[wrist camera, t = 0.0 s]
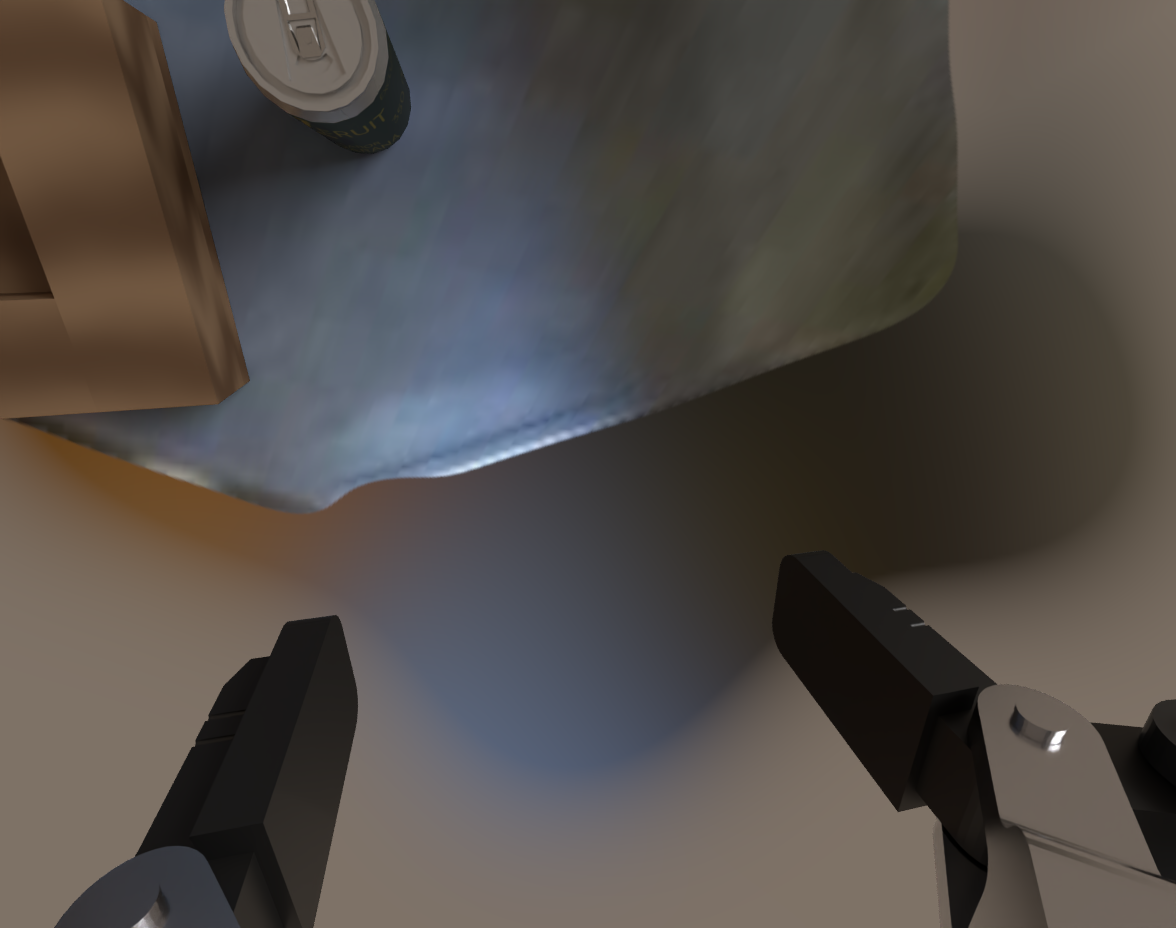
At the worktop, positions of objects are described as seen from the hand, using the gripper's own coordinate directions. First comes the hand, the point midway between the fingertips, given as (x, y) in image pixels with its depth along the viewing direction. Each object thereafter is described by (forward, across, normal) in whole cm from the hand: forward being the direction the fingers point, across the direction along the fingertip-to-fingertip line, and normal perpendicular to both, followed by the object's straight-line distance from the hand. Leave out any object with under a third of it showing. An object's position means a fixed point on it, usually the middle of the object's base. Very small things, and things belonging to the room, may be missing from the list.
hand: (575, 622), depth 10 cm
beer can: (+30, +6, -13) cm, 33 cm away
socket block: (+29, +24, -7) cm, 39 cm away
